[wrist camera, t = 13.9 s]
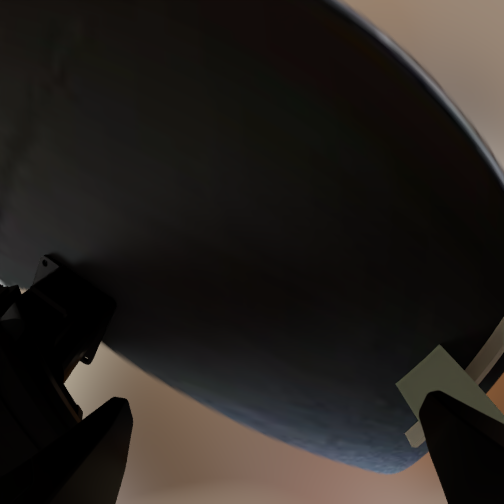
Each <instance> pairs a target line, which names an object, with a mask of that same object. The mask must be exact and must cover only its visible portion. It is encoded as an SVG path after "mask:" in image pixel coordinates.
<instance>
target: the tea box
mask: <svg viewBox="0 0 504 504" xmlns="http://www.w3.org/2000/svg"><path fill="white" fill-rule="evenodd" d="M396 386H397V387H398V389H399V390H400V392H401V393H402V395H403V397H404V398H405V400H406V401H407V403H408V405H409V406H410V408H411V409H412V411H413V413H414V414H415V416H416V418H417V419H418V421H419V422H420V419H419V410H420V408H421V406H422V403H423V401H424V399H425V397H426V395H427V394H428V393H429V392H431V391H436V390H440V391H442V392H444V393H446V394H448V395H450V396H452V397H453V398H455V399H457V400H459V401H461V402H463V403H465V404H467V405H469V406H470V407H472V408H474V409H476V410H478V411H480V412H482V413H484V414H486V415H488V416H490V417H492V418H494V419H496V420H497V421H499V422H501V423H503V424H504V415H503V414H502V413H501V411H500V410H499V409H498V408H497V407H496V406H495V404H494V403H493V402H492V401H491V400H490V399H489V397H487V396H486V394H485V393H484V392H483V391H482V390H481V388H480V387H479V386H478V385H477V384H476V383H475V382H474V381H473V380H472V378H471V377H470V376H469V375H468V374H467V373H466V372H465V371H464V370H463V369H462V368H461V367H460V365H459V364H458V363H457V362H456V361H455V360H454V359H453V358H452V357H451V356H450V355H449V354H448V353H447V352H446V351H445V350H444V349H443V347H442V346H441V345H440V344H439V345H438V346H437V347H436V348H435V349H434V350H433V351H432V352H431V353H430V354H429V355H428V356H427V357H426V358H425V359H423V360H422V361H421V362H420V363H419V364H418V365H417V366H416V367H415V368H414V369H412V370H411V371H410V372H409V373H408V374H407V375H405V376H404V377H403V378H402V379H401V380H400V381H398V382H397V383H396ZM420 424H421V422H420ZM421 426H422V425H421Z"/></svg>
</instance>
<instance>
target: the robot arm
mask: <svg viewBox="0 0 504 504" xmlns="http://www.w3.org/2000/svg"><path fill="white" fill-rule="evenodd" d="M45 260H46V261H47V263H48V265H47V264H46V263H45ZM106 303H109V304H110V305H111V307H108V306H107V304H106ZM115 309H116V302H115V300H114V299H112V298H111V297H109V296H108V295H106V294H105V293H103V292H102V291H100V290H99V289H97V288H95V287H94V286H93V285H92V284H91V283H90V282H88V281H87V280H85V279H84V278H82V277H81V276H79V275H78V274H77V273H75V272H74V271H72V270H71V269H69V268H68V267H67V266H65V265H62V264H61V263H59V262H58V261H56V260H55V259H54V258H52V257H51V256H49V255H44V256H42V257H41V258H40V261H39V264H38V267H37V271H36V274H35V278H34V281H33V285H32V286H31V287H30V289H28V290H27V291H25V292H24V293H23V294H21V291H20V289H19V286H18V285H15V286H11V287H8V286H7V287H3V285H1V284H0V504H115V503H116V500H117V496H118V492H119V489H120V486H121V482H122V479H123V475H124V472H125V467H126V462H127V456H128V450H129V444H130V438H131V432H132V427H133V417H132V414H131V410H130V406H129V402H128V400H127V399H125V398H119V397H113V398H111V399H110V400H108V401H107V402H106V403H104V404H103V405H102V406H100V407H99V408H98V409H96V410H95V411H94V412H92V413H91V414H90V415H88V416H87V417H86V418H85V419H83V420H82V416H83V411H82V410H81V408H80V407H79V405H77V404H76V403H75V402H74V400H73V398H72V397H71V395H70V394H69V392H68V390H67V389H66V387H65V385H64V383H65V381H66V380H67V378H68V377H69V375H70V374H71V372H72V370H73V369H74V368H75V366H76V365H77V364H78V362H79V361H81V362H83V363H84V364H87V365H89V364H90V363H91V362H92V360H93V359H94V356H95V354H96V351H97V349H98V347H99V344H100V342H101V340H102V337H103V335H104V333H105V331H106V328H107V326H108V324H109V322H110V320H111V317H112V315H113V313H114V311H115ZM85 357H87V358H88V359H87V358H85ZM419 419H420V422H421V425H422V429H423V432H424V436H425V439H426V443H427V447H428V450H429V453H430V456H431V459H432V461H433V464H434V466H435V469H436V472H437V474H438V477H439V480H440V482H441V485H442V488H443V491H444V493H445V496H446V499H447V502H448V504H504V424H503V423H501V422H499V421H497V420H496V419H494V418H492V417H490V416H488V415H486V414H484V413H482V412H480V411H478V410H476V409H474V408H472V407H470V406H469V405H467V404H465V403H463V402H461V401H459V400H457V399H455V398H453V397H452V396H450V395H448V394H446V393H444V392H442V391H440V390H436V391H431V392H429V393H428V394H427V395H426V397H425V399H424V401H423V403H422V406H421V408H420V410H419Z"/></svg>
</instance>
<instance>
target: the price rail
mask: <svg viewBox="0 0 504 504" xmlns="http://www.w3.org/2000/svg"><path fill="white" fill-rule="evenodd" d="M503 352H504V317H503V319H502V320H501V322H500V323H499V325H498V326H497V328H496V329H495V331H494V332H493V333H492V335H491V336H490V338H489V339H488V340H487V342H486V343H485V345H484V346H483V347H482V349H481V350H480V351H479V353H478V354H477V355H476V357H475V358H474V359H473V360H472V362H471V363H470V364H469V365H468V367H467V368H466V369H465V370H464V371H465V372H466V373H467V374H468V375H469V376H470V377H471V378H472V380H473V381H474V382H475V383H476V384H477V385H479V383H480V382H481V381H482V380H483V378H484V377H485V376H486V375H487V374H488V372H489V371H490V370H491V368H492V367H493V366H494V365H495V363H496V362H497V361H498V359H499V358H500V357H501V355H502V354H503ZM405 435H406V437H407V439H408V441H409V442H410V444H411V446H412V447H416V448H417V447H418V446H419V445H420V444H422V443H423V442H424V441H425V440H426V439H425V436H424V432H423V429H422V426H421V424H420V422H419V421H417V422H416V423H415V424H414V425H413V426H412V427H411V428H410V429H409V430H408V431H407V432H406V433H405Z"/></svg>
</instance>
